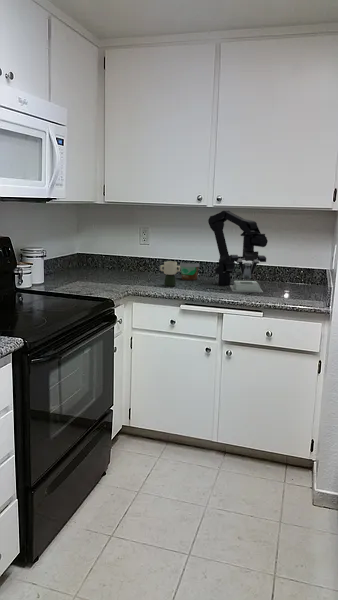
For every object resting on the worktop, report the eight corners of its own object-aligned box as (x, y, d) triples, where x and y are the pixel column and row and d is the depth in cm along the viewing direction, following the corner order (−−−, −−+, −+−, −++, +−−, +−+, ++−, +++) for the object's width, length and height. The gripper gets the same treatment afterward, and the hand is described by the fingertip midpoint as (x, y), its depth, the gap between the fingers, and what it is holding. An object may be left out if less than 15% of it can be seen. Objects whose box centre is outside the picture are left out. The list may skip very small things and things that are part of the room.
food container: (175, 279, 288) (176, 262, 286) (180, 277, 294) (180, 261, 291) (195, 281, 283) (195, 264, 281) (199, 279, 289) (199, 262, 286)
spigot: (243, 278, 260) (243, 263, 258) (242, 277, 264) (242, 262, 263) (251, 278, 260) (252, 264, 258) (250, 277, 264) (251, 262, 262)
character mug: (180, 284, 272) (180, 261, 269) (179, 287, 265) (180, 263, 262) (160, 284, 273) (161, 260, 270) (159, 286, 266) (159, 262, 263)
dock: (232, 292, 256) (233, 285, 255) (229, 286, 271) (230, 279, 271) (263, 292, 256) (263, 286, 255) (258, 286, 271) (259, 280, 270)
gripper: (232, 246, 251) (230, 276, 254) (269, 247, 250) (266, 277, 254) (230, 244, 261) (228, 273, 265) (265, 245, 261) (263, 273, 265)
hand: (246, 274), depth 262 cm, fingers closed on spigot, 4 cm apart
